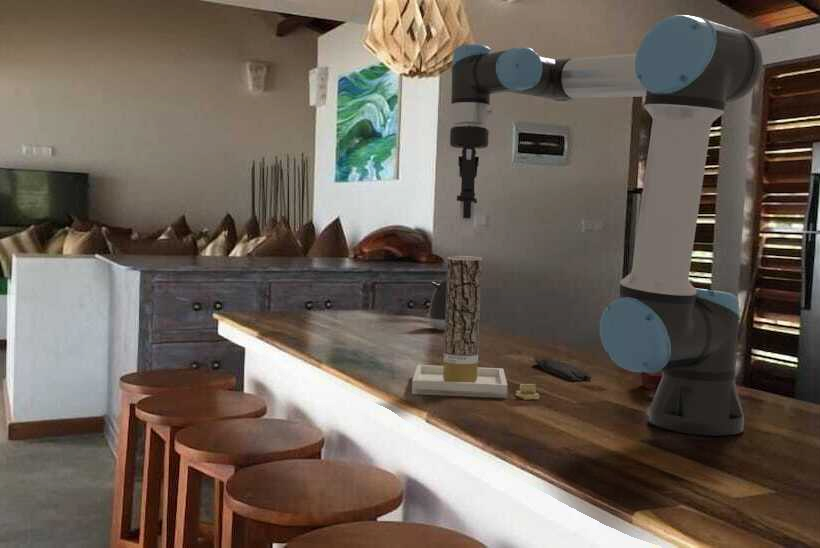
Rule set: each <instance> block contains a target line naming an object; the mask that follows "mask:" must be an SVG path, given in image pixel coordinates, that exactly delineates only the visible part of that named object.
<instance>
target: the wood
mask: <svg viewBox="0 0 820 548" xmlns="http://www.w3.org/2000/svg"><path fill="white" fill-rule="evenodd" d="M533 360H534V361H535V363H536V364H537V365H538V366H539V367H541V369H543V371H545V372H549V373H552V374H554V375H555V376H557V377H559V378H562V379H565V380H567V381H568V382H570V383H583V382H588V383H589V382H591V383H592V381H591V380H592V378H591V376H590V374H589V372H587V371H585V370H582V369H581V368H578V367H575V366H574V365H571V364H568V363H566V362H561V361H560V360H555V359H554V358H552V357H549V356H547V357H544V358H543V357H542V358H540V357H534V358H533Z"/></svg>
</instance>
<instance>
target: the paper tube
mask: <svg viewBox="0 0 820 548" xmlns="http://www.w3.org/2000/svg"><path fill="white" fill-rule="evenodd" d="M482 258H483V257H482V256H473V255H472V256H471V255H448V256H447V260H446V261H447V262H446V279H447V282H446V310H445V331H444V337H443V339H444V341H443V343H444V344H443V345H444V347H443V366H444V368H443V379H444V380H445V381H448V382H470V383H475V382H476V380H477V367H479V366H478V362H479V343H480V342H479V340H480V339H479V338H480V316H481V314H480V313H481V312H480V311H481V291H482V266H483V265H482V263H483V261H482V260H483V259H482Z"/></svg>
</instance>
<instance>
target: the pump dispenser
mask: <svg viewBox="0 0 820 548" xmlns="http://www.w3.org/2000/svg"><path fill="white" fill-rule="evenodd" d="M446 282H447V278H446V279H443V280H440V281H439V282H438V283H436V282H434V281H431V282H430V286H432V287H434V288H435V289H434V292H433V293H432V296H431V300H430V305H429V310H428V318H429V322H430V324H431V326H432V327H433V328H434V329H435V330H437V331H444V332H445V310H446Z"/></svg>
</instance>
